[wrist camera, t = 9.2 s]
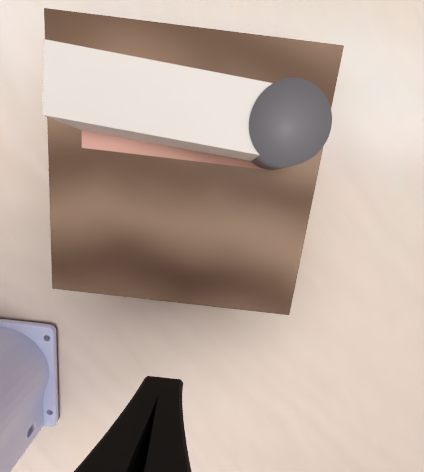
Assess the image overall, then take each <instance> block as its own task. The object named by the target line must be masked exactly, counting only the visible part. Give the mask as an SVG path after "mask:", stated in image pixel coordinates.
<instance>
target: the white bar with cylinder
mask: <svg viewBox="0 0 424 472" xmlns="http://www.w3.org/2000/svg"><path fill="white" fill-rule="evenodd" d="M42 115H44V116H47V117H49V118H52V119H54V120H57V121H59V122H62V123H64V124H67V125H69V126H72V127H74V128H77V129H79V130H85V131H90V132H96V133H101V134H107V135H112V136H117V137H123V138H128V139H134V140H139V141H144V142H150V143H155V144H161V145H166V146H172V147H177V148H182V149H188V150H193V151H199V152H204V153H210V154H215V155H220V156H226V157H231V158H237V159H242V160H247V161H251V162H252V163H253V164H255V165H256V166H258V167H260V168H263V169H267V170H276V169H281V168H285V167H290V166H294V165H298V164H301V163H304V162H306V161H308V160H309V159H311V158H312V157H314V156H315V155H316V154H317V153H318V152H319V151H320V150H321V148H322V147H323V146H324V144H325V142H326V141H327V138H328V136H329V133H330V130H331V124H332V113H331V108H330V104H329V102H328V99H327V97H326V96H325V94H324V93H323V92H322V90H321V89H320V88H319V87H318V86H316V85H315V84H313V83H312V82H310V81H308V80H305V79H301V78H286V79H282V80H279V81H277V82H275V83H269V82H264V81H259V80H254V79H249V78H243V77H238V76H233V75H228V74H223V73H218V72H212V71H207V70H202V69H197V68H192V67H186V66H181V65H176V64H171V63H166V62H160V61H155V60H150V59H145V58H140V57H135V56H129V55H124V54H119V53H114V52H109V51H103V50H98V49H93V48H88V47H83V46H77V45H72V44H67V43H62V42H57V41H51V40H46V39H44V52H43V96H42Z"/></svg>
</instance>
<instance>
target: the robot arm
mask: <svg viewBox="0 0 424 472" xmlns="http://www.w3.org/2000/svg"><path fill="white" fill-rule="evenodd" d="M48 336H49V337H50V338H49V337H48ZM182 388H183V382H182V381H181V380H179V379H170V378H161V377H152V376H147V377H146V378H145V379H144V381H143V382H142V384H141V386H140V387H139V389H138V390H137V392H136V393H135V395H134V396H133V398H132V399H131V401H130V402H129V403H128V405H127V406H126V408H125V409H124V410H123V412H122V413H121V414H120V416H119V417H118V418H117V420H116V421H115V422H114V424H113V425H112V426H111V428H110V429H109V430H108V432H107V433H106V434H105V435H104V437H103V438H102V439H101V440H100V441H99V443H98V444H97V445H96V446H95V447H94V449H93V450H92V451H91V452H90V454H89V455H88V456H87V457H86V458H85V460H84V461H83V462H82V463H81V464H80V465H79V466H78V468H77V469H76V470H75V471H74V472H191V468H190V463H189V457H188V451H187V445H186V438H185V430H184V422H183V410H182ZM57 421H58V382H57V345H56V328H55V327H54V326H53V325H50V324H43V323H34V322H25V321H16V320H7V319H0V472H10V471H11V470H12V469H13V467H14V466H15V464H16V463H17V462H18V460H19V459H20V457H21V456H22V455H23V453H24V452H25V450H26V449H27V448H28V446H29V445H30V443H31V442H32V441H33V439H34V438H35V436H36V435H37V434H38V432H39V431H40V429H41V428H42V427H43V426H54V425H55V424H56V423H57Z"/></svg>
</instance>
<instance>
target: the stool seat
mask: <svg viewBox="0 0 424 472" xmlns="http://www.w3.org/2000/svg"><path fill="white" fill-rule="evenodd" d="M44 17H45V39H46V40H51V41H57V42H62V43H67V44H72V45H77V46H83V47H88V48H93V49H98V50H103V51H109V52H114V53H119V54H124V55H129V56H135V57H140V58H145V59H150V60H155V61H160V62H166V63H171V64H176V65H181V66H186V67H192V68H197V69H202V70H207V71H212V72H218V73H223V74H228V75H233V76H238V77H243V78H249V79H254V80H259V81H264V82H269V83H275V82H277V81H279V80H282V79H286V78H301V79H305V80H308V81H310V82H312V83H313V84H315V85H316V86H318V87H319V88H320V89H321V90H322V92H323V93H324V94H325V96H326V97H327V99H328V102H329V104H330V108H331V106H332V101H333V96H334V91H335V86H336V81H337V76H338V71H339V67H340V62H341V57H342V52H343V47H344V46H343V45H335V44H327V43H319V42H311V41H303V40H295V39H287V38H279V37H271V36H263V35H255V34H247V33H239V32H231V31H223V30H215V29H207V28H199V27H191V26H183V25H175V24H167V23H159V22H151V21H143V20H135V19H127V18H119V17H111V16H103V15H95V14H87V13H79V12H71V11H63V10H55V9H47V8H44ZM47 119H48V153H49V187H50V221H51V255H52V288H53V289H62V290H71V291H80V292H89V293H98V294H107V295H116V296H125V297H133V298H142V299H151V300H160V301H169V302H178V303H187V304H196V305H205V306H213V307H222V308H231V309H240V310H249V311H258V312H267V313H276V314H285V315H289V313H290V308H291V303H292V298H293V293H294V288H295V283H296V278H297V273H298V268H299V263H300V258H301V254H302V249H303V244H304V239H305V234H306V229H307V224H308V219H309V214H310V209H311V204H312V199H313V195H314V190H315V185H316V180H317V175H318V170H319V165H320V160H321V155H322V150H323V147H322V148H321V150H320V151H319V152H318V153H317V154H316V155H315V156H314V157H312V158H311V159H309V160H308V161H306V162H304V163H301V164H298V165H294V166H290V167H285V168H281V169H276V170H267V169H263V168H260V167H258V166H256V165H255V164H253V163H252V162H251V161H247V160H242V159H237V158H231V157H226V156H220V155H215V154H210V153H204V152H199V151H193V150H188V149H182V148H177V147H172V146H166V145H161V144H155V143H150V142H144V141H139V140H134V139H128V138H123V137H117V136H112V135H107V134H101V133H96V132H90V131H85V130H79V129H77V128H74V127H72V126H69V125H67V124H64V123H62V122H59V121H57V120H54V119H52V118H49V117H47Z"/></svg>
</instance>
